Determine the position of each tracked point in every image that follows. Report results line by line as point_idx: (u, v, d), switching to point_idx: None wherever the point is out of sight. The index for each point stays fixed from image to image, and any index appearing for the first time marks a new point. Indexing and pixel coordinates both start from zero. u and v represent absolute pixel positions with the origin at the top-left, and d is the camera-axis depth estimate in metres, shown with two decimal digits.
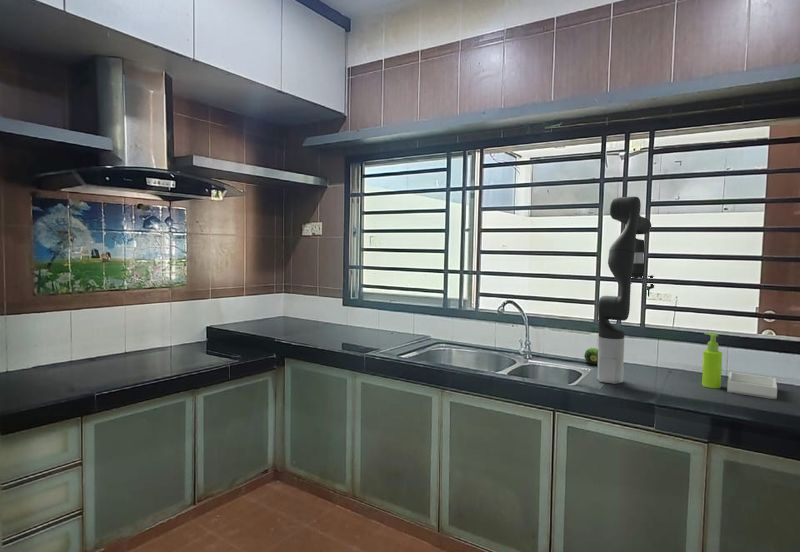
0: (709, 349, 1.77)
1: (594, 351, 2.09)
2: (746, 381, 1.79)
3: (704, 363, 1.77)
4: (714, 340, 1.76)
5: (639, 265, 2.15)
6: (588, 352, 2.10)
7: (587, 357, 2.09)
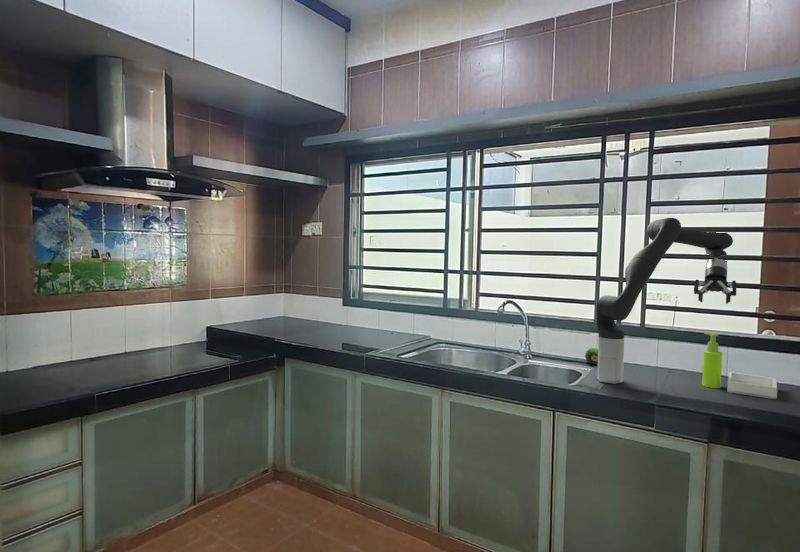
0: (709, 349, 1.77)
1: (595, 351, 2.09)
2: (746, 381, 1.79)
3: (704, 363, 1.77)
4: (714, 340, 1.76)
5: (720, 268, 1.92)
6: (589, 352, 2.10)
7: (588, 358, 2.09)
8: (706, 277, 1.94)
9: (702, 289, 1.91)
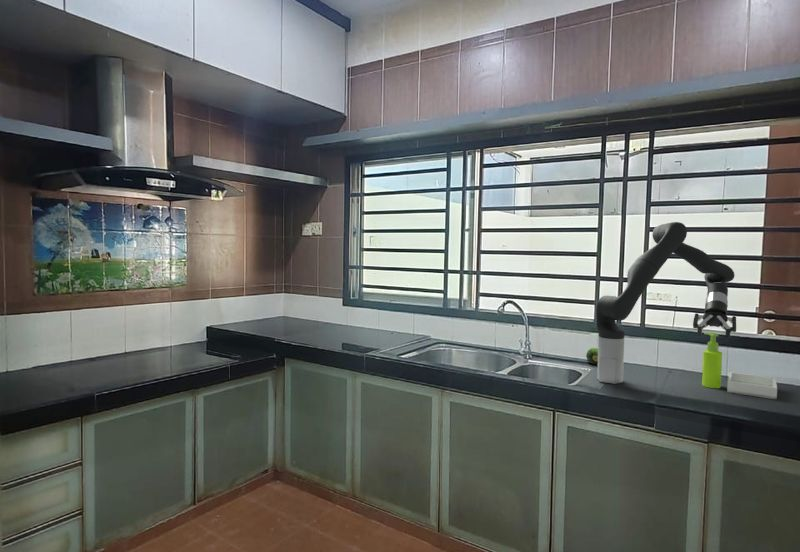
0: (709, 349, 1.77)
1: (596, 351, 2.09)
2: (746, 381, 1.79)
3: (704, 363, 1.77)
4: (714, 340, 1.76)
5: (720, 303, 1.88)
6: (590, 352, 2.10)
7: (589, 358, 2.09)
8: (706, 311, 1.91)
9: (701, 323, 1.88)
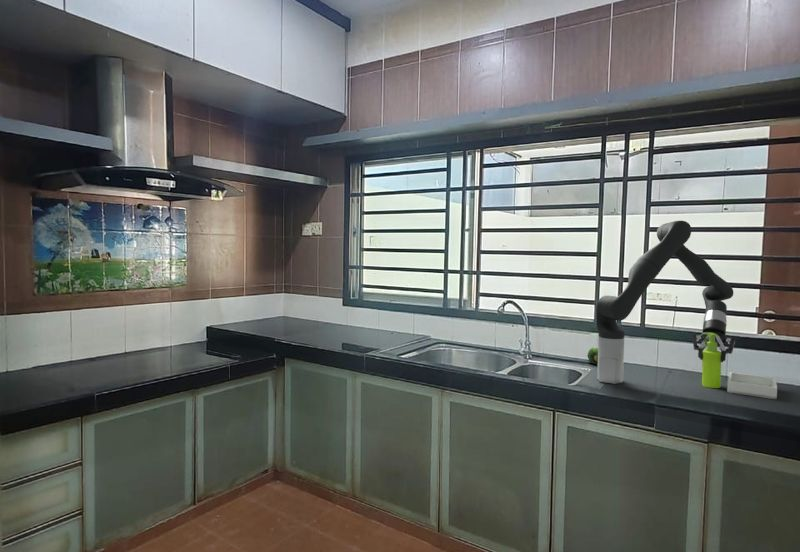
0: (708, 349, 1.77)
1: None
2: (746, 381, 1.79)
3: (703, 363, 1.77)
4: (713, 340, 1.76)
5: (719, 322, 1.82)
6: (592, 352, 2.10)
7: (591, 357, 2.09)
8: (704, 330, 1.84)
9: (701, 344, 1.81)
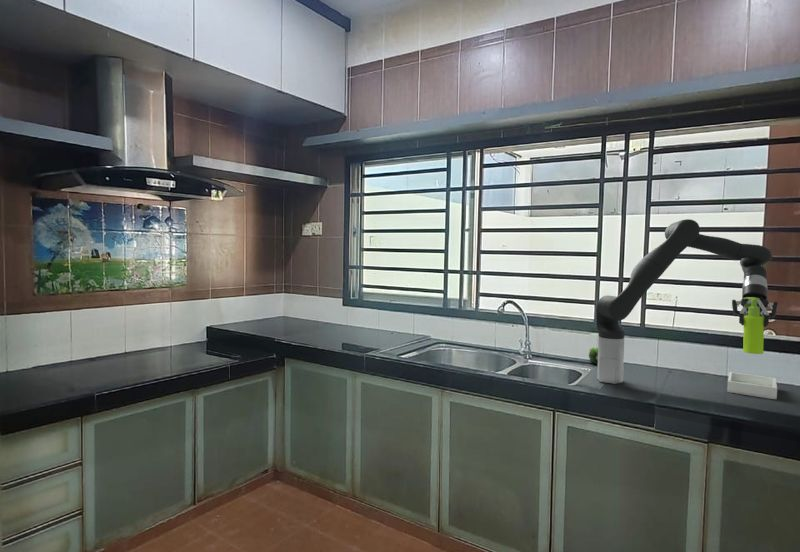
0: (750, 314, 1.71)
1: None
2: (746, 381, 1.79)
3: (745, 328, 1.71)
4: (755, 304, 1.70)
5: (760, 286, 1.75)
6: (593, 352, 2.10)
7: (593, 357, 2.09)
8: (744, 296, 1.78)
9: (742, 310, 1.74)
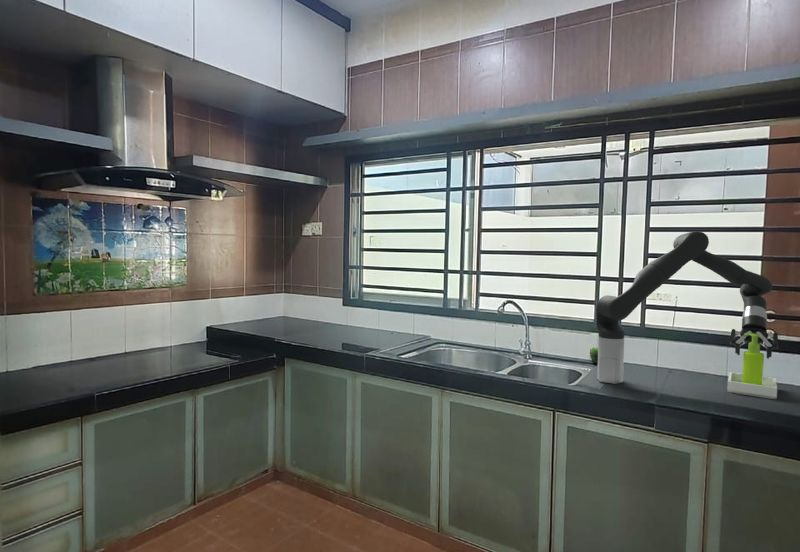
0: (750, 350, 1.71)
1: None
2: None
3: (745, 365, 1.72)
4: (756, 341, 1.70)
5: (760, 318, 1.76)
6: (595, 352, 2.10)
7: (595, 357, 2.09)
8: (743, 327, 1.78)
9: (739, 340, 1.75)
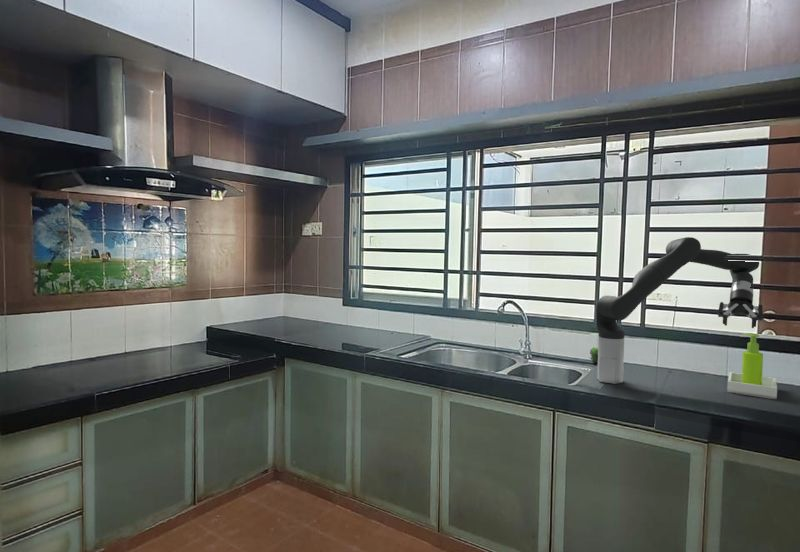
0: (749, 350, 1.71)
1: None
2: None
3: (744, 365, 1.72)
4: (754, 341, 1.71)
5: (746, 291, 1.88)
6: (597, 352, 2.10)
7: (596, 358, 2.09)
8: (731, 300, 1.90)
9: (726, 312, 1.87)
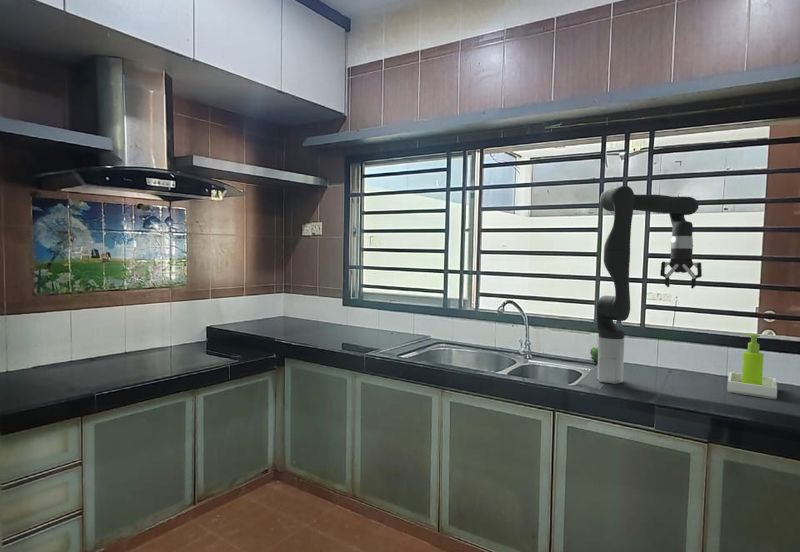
0: (750, 350, 1.71)
1: None
2: None
3: (744, 364, 1.72)
4: (755, 341, 1.71)
5: (685, 250, 1.86)
6: None
7: None
8: (672, 258, 1.91)
9: (668, 274, 1.92)
